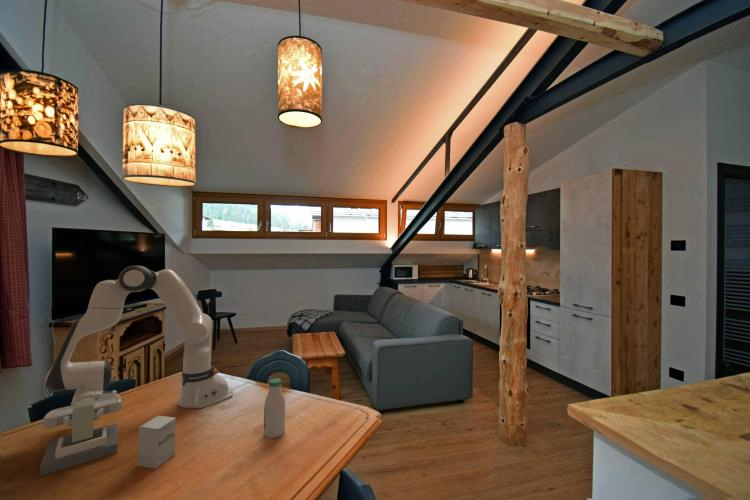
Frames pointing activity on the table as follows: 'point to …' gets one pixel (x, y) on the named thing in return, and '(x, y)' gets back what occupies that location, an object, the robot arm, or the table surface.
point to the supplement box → (156, 441)
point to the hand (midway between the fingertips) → (83, 420)
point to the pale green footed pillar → (82, 420)
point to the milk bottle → (274, 410)
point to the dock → (79, 450)
